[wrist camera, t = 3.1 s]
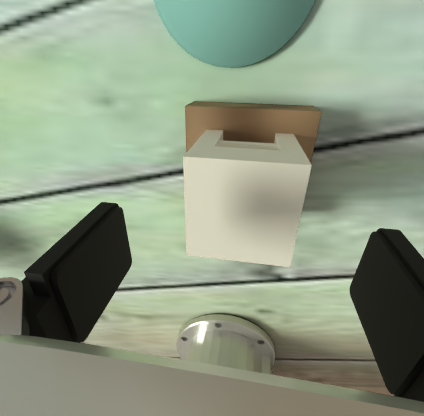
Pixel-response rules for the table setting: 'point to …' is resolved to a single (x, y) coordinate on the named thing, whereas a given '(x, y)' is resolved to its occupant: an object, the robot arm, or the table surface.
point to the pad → (232, 27)
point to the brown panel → (253, 122)
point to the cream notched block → (244, 198)
